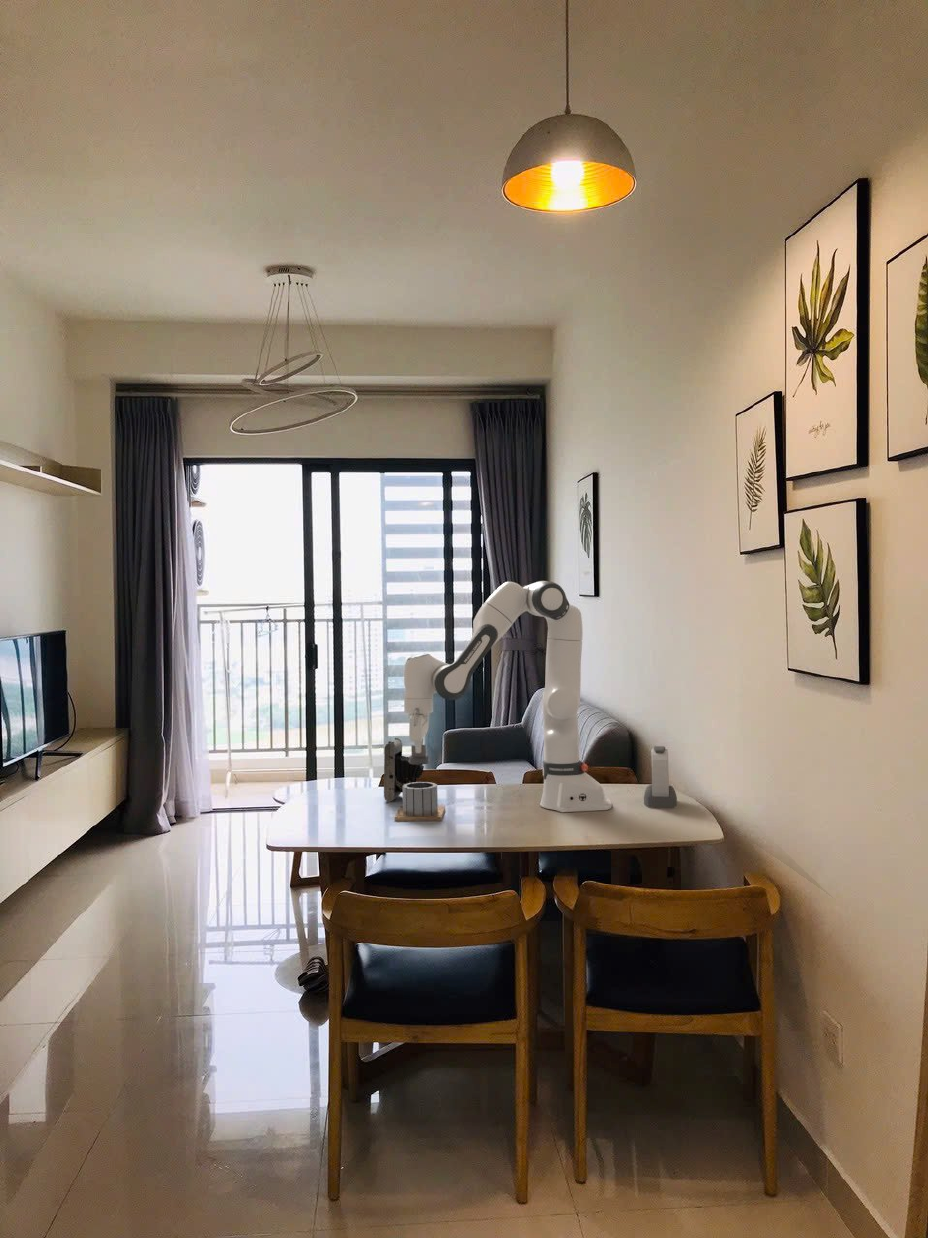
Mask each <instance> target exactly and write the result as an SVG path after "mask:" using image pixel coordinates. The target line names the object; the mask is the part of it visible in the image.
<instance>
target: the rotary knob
mask: <svg viewBox="0 0 928 1238" xmlns="http://www.w3.org/2000/svg"><path fill="white" fill-rule="evenodd" d="M421 747H422V751H421V753H416V752H415V744H411V751H410V752H411V755H409V756H408V757H409V764H413V765H423V766H424V765H428V764H429V762H430V758H429V757H430V756H429V755H427V744H423V745H421Z"/></svg>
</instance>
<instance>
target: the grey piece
mask: <svg viewBox="0 0 928 1238" xmlns="http://www.w3.org/2000/svg"><path fill="white" fill-rule="evenodd" d="M668 750H669V749H666V747H665V746H663V745H655V746H653V748H651V784H649V785H648V786H647V787H645V790H644V795H643V804H644V806H645V807H646V808H647V809H674V808H676V807H677V805H678V800H677V799H678V797H677V793H676V790H675V788H674V787H673V785H669V782H670V779H669V777H670V776H669V775H670V774H669V751H668Z"/></svg>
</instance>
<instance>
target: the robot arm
mask: <svg viewBox="0 0 928 1238" xmlns="http://www.w3.org/2000/svg"><path fill="white" fill-rule="evenodd" d="M568 600H569V599H568V598H567V595H566V593H565V590H564V589H563V588H562V586H561V585H559V583H556V582H553V581H547V580H539V581H536V582H531V583H528V584H525V585H523V586H522V585H520V584H519V583H517V582H514V581H505V582H504V583H502V584H501V585H500V586H498V587H497V589H495V590H494V591H493V593H491V595H489V597H488V598H487V599H486V600H485V602H483V604H482V605H481V607H480V608H479V609H478V611H477V612H476V615H475V616H474V619H473V622H472V624H473V625H472V628H473V629H472V636H471V638H470V640H469V642H468V643H467V645H466V646H465V647H464V649H463V650H462V651H461V653H460V654H459V656H458V657H457V658H456V660H455V661H453V663H451V664H450V663H446V662H444V661H441V660H439V659H437V658H435V657H434V656H432V655H431V654H429V653H418V654H414V655H411V656H409V657H407V659H406V660H405V664H404V671H403V685H404V687H405V692H404V696H403V701H404V702H403V704H404V705H403V706H404V710H403V711H404V712H403V713H405V714H408V718H409V728H408V729H409V730H408V731H409V732H408V733H409V735H408V737H409V742H413V743H414V745H415V752H416V753H421V751H422V747H421V745H424V737H426V735H427V733H428V731H429V726H430V715H431V713H433V712H434V695H435V694H438V695H439V696H440V697H441V699H445V700H447V701H456V700H460V699H461V698H462V697H464V696H465V695H466V693H467V692H468V690H469V687H470V684H471V678H472V676H473V674H474V673H475V671H476V670H477V668H478V666H479V665H480V663H481V662H482V661H483V660H484V658H486V655H487V654H488V652H489V651H490V650H491V649H492V648H493V647H494V645H495V644H497V642H498V641H499V640H500V639H501V638H502V637H504V635H505V634H506V633H507V632H508V630H509V629H511V627H512V626H513V625H514V623H515V622H516V621H517V619H518V618H519V617H520V616H521V615H522V614H523V613H526V614H528V615H532V616H537V617H541V618H543V617H544V619H545V620H546V623H547V628H548V629H547V637H546V638H547V639H546V640H547V641H546V652H545V653H546V654H545V679H544V680H545V681H544V682H545V685H544V689H543V693H542V722H543V723H542V724H543V725H542V726H543V751H544V752H543V753H544V755H543V756H544V757H543V758H544V759H543V761H542V776H543V786H542V787H543V789H542V794H541V800H540V803H539V806H540V807H542V808H544V809H548V810H554V811H557V812H561V813H569V812H571V813H572V812H591V811H607V810H611V808H612V804H613V803H612V801H611V800H610V799H609V798H607V797H605V792H604V788H603V786H602V784H601V783H600V782H598V781H597V780H596V779H595V778H594V777H592V776H591V775H589V774H588V773H587V771H588V770H589V767H588V765H587V763H585V762H584V761H582V760H580V736H579V735H580V733H579V721H578V712H579V709H580V705H581V675H582V674H581V673H582V672H581V671H582V669H581V667H582V666H581V665H582V649H583V619H582V618H583V617H582V613H581V611H580V609H579V608H578V607H577V606H575V605H573V604H570V602H569V601H568Z"/></svg>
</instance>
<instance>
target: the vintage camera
mask: <svg viewBox="0 0 928 1238" xmlns="http://www.w3.org/2000/svg"><path fill="white" fill-rule="evenodd" d="M383 758H384V759H383V761H384V763H383V765H384V766H383V769H384V770H383V798H384V800H385V801H386V802H387V803H390V802H393V801H394V800H395V799H397V798H398V797H399V796H400V795H401V794H402V793H403V787H402V786H403V785H404V784H407V783H413V782H417V779H420V778H421V776H422V774H423V773H424V768H425V766H424V764H423V765H413V764H409V756H405V755H403V742H402V740H401V739H400V738H398V737H395V738H394V739H393V740H389V741H388V742H387V743H386V744H385V746H384V757H383Z"/></svg>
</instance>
